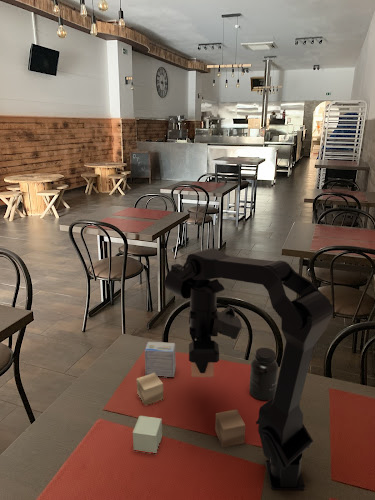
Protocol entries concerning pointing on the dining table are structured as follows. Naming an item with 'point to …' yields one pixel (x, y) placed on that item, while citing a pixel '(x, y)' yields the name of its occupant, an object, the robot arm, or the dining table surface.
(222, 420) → the walnut block
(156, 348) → the medicine box
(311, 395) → the dining table surface
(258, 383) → the supplement bottle
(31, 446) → the dining table surface
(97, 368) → the dining table surface
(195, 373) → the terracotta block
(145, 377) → the maple block
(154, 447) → the sage painted block
